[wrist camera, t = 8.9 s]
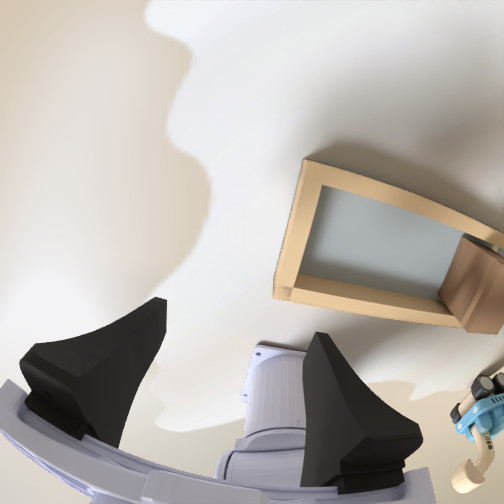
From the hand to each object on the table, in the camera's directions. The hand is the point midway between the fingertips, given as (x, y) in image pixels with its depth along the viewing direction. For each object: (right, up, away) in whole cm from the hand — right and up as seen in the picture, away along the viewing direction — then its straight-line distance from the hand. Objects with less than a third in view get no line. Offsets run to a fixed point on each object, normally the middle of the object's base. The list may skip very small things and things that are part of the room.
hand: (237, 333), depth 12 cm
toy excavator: (+35, -19, +16) cm, 42 cm away
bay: (+15, +3, +8) cm, 17 cm away
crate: (+21, +2, +7) cm, 22 cm away
